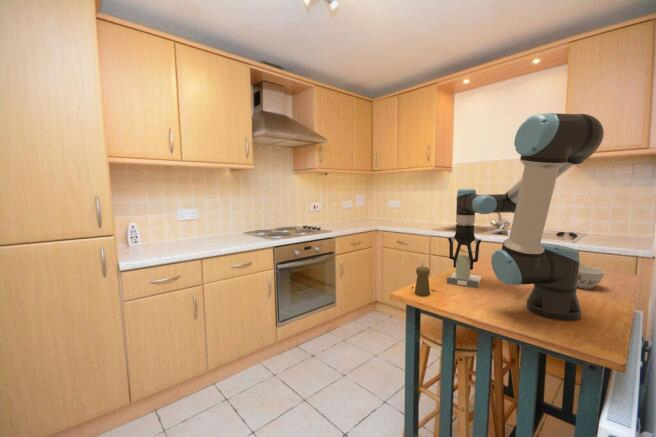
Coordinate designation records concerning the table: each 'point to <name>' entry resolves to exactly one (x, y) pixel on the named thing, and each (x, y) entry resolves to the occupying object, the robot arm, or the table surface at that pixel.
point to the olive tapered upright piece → (422, 282)
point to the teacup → (589, 277)
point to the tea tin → (462, 267)
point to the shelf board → (464, 281)
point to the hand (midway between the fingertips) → (462, 275)
